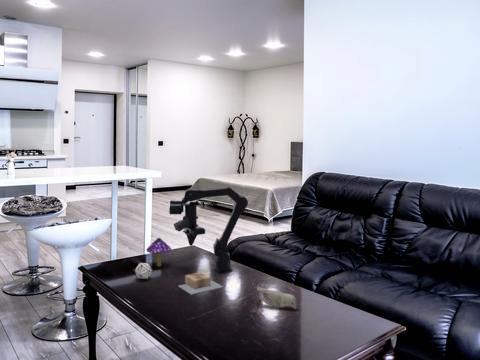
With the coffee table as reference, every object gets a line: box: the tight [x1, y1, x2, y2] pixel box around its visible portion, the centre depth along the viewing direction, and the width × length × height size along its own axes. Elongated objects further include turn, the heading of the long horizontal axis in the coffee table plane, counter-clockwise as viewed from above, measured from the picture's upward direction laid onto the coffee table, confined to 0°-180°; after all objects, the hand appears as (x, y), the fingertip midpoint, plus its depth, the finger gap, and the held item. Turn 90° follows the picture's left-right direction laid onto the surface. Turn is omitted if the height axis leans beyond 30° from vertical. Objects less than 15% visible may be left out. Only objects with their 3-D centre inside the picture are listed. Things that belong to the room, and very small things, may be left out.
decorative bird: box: [256, 286, 298, 311], centre depth 161 cm, size 5×16×8 cm, turn 74°
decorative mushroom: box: [146, 237, 172, 267], centre depth 211 cm, size 12×12×15 cm
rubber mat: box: [178, 279, 224, 296], centre depth 183 cm, size 16×12×1 cm
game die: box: [132, 261, 155, 281], centre depth 192 cm, size 9×8×10 cm
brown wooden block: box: [184, 271, 211, 289], centre depth 185 cm, size 8×4×9 cm
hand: (190, 245), depth 203 cm, fingers closed
